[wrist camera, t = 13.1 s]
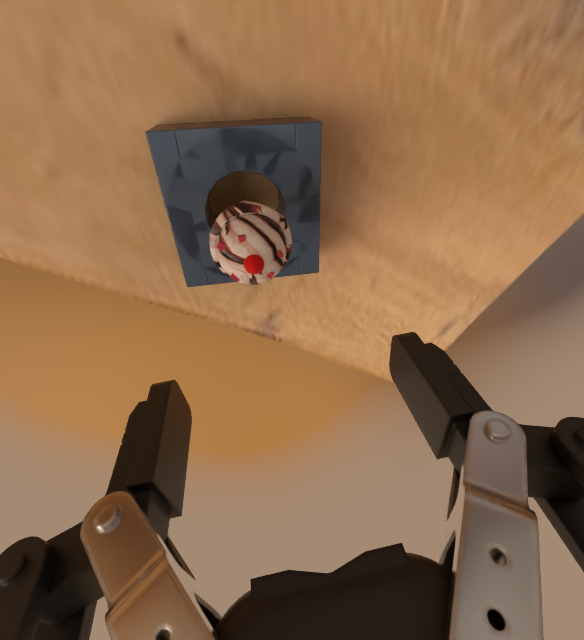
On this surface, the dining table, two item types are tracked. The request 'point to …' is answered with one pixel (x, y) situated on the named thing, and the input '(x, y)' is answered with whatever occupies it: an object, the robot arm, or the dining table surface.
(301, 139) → the cone stand
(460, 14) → the dining table surface
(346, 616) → the robot arm
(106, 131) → the dining table surface
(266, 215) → the ice cream cone
